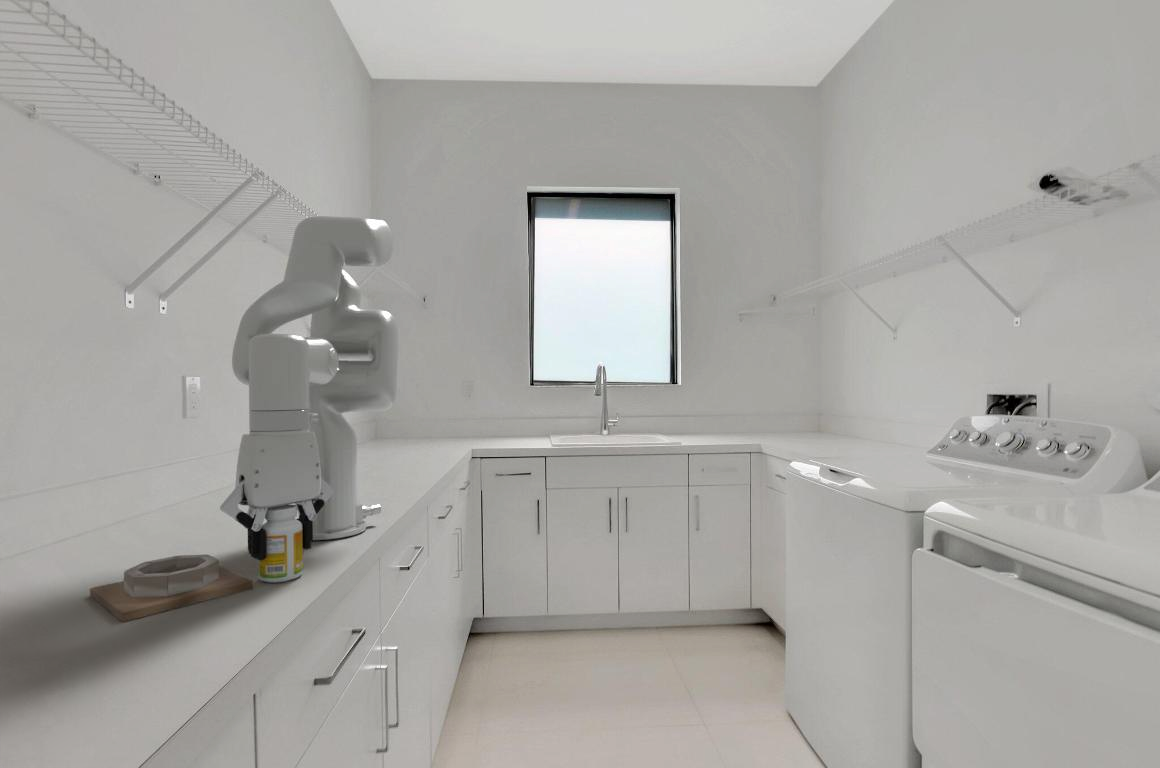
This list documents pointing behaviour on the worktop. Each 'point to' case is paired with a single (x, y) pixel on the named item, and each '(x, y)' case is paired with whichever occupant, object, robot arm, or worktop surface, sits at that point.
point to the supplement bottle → (282, 545)
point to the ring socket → (168, 586)
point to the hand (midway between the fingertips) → (281, 551)
